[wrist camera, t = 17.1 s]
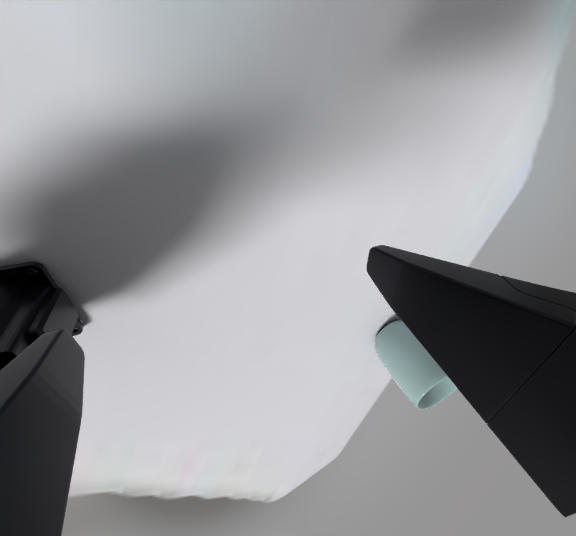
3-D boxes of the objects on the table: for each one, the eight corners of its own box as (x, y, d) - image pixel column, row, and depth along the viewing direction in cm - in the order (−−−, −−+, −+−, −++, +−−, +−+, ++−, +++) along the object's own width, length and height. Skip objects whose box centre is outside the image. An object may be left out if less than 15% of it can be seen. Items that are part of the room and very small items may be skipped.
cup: (358, 340, 37) (408, 405, 30) (400, 304, 36) (463, 362, 29) (378, 354, 42) (425, 413, 35) (415, 323, 41) (472, 377, 34)
